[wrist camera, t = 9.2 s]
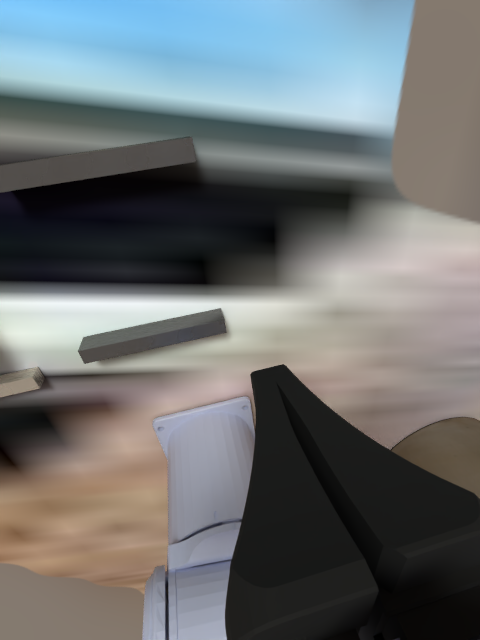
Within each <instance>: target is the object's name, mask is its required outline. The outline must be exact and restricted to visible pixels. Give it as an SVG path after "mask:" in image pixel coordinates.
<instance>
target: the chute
mask: <svg viewBox="0 0 480 640" xmlns="http://www.w3.org/2000/svg"><path fill="white" fill-rule="evenodd" d="M192 162H196V157H195V152H194V146H193V140H192V137H184V138H177V139H170V140H163V141H157V142H150V143H143V144H136V145H129V146H123V147H116V148H109V149H102V150H95V151H89V152H82V153H75V154H68V155H61V156H55V157H48V158H41V159H34V160H27V161H21V162H14V163H7V164H0V192H6V191H13V190H19V189H26V188H32V187H38V186H45V185H51V184H58V183H64V182H70V181H77V180H83V179H90V178H96V177H102V176H109V175H115V174H121V173H128V172H134V171H141V170H147V169H153V168H160V167H166V166H173V165H179V164H185V163H192ZM222 333H227V332H226V327H225V321H224V317H223V314H222V311H221V308H220V309H215V310H210V311H205V312H201V313H196V314H191V315H186V316H182V317H177V318H172V319H167V320H163V321H158V322H153V323H148V324H144V325H139V326H134V327H130V328H125V329H120V330H115V331H111V332H106V333H101V334H96V335H92V336H87V337H83V340H82V342H81V345H80V347H79V350H78V352H79V354H80V356H81V358H82V360H83V362H84V364H86V363H90V362H95V361H100V360H104V359H109V358H113V357H118V356H122V355H127V354H131V353H136V352H140V351H145V350H150V349H154V348H159V347H163V346H168V345H172V344H177V343H181V342H186V341H190V340H195V339H200V338H204V337H209V336H213V335H218V334H222ZM44 379H45V377H44V376H43V374H42V373H41V371H40V370H39V368H38V367H35V368H31V369H26V370H22V371H17V372H12V373H8V374H3V375H0V397H4V396H9V395H13V394H18V393H22V392H26V391H31V390H35V389H40V387H41V385H42V383H43V381H44Z"/></svg>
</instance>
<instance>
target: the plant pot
mask: <svg viewBox="0 0 480 640" xmlns="http://www.w3.org/2000/svg"><path fill="white" fill-rule="evenodd" d="M391 451H392V452H394V453H396V454H397V455H399V456H401V457H403V458H404V459H406V460H408V461H409V462H411V463H413V464H415V465H417V466H419V467H421V468H423V469H424V470H426V471H428V472H430V473H432V474H434V475H436V476H438V477H440V478H442V479H445V480H447V481H449V482H451V483H453V484H455V485H458V486H460V487H462V488H464V489H466V490H468V491H471V492H473V493H475V494H476V495H477V496H478V498H479V499H480V421H479V420H477V419H474V418H468V417H458V418H451V419H446V420H443V421H439V422H436V423H433V424H431V425H429V426H426V427H424V428H422V429H420V430H418V431H417V432H415V433H413V434H412V435H410V436H408V437H407V438H405V439H404V440H403V441H401V442H400V443H399V444H397V445H396V446H395V447H394V448H393V449H392V450H391Z"/></svg>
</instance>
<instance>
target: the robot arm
mask: <svg viewBox="0 0 480 640" xmlns="http://www.w3.org/2000/svg"><path fill="white" fill-rule="evenodd" d="M251 382H252V388H253V395H254V402H255V407H256V428H255V430H254V424H253V417H252V410H251V403H250V399H249V398H248V397H246V396H243V397H239V398H235V399H231V400H227V401H223V402H219V403H214V404H210V405H206V406H202V407H198V408H194V409H190V410H186V411H182V412H178V413H174V414H169V415H165V416H161V417H157V418H155V419H154V420H153V427H154V430H155V432H156V434H157V437H158V439H159V441H160V444H161V446H162V448H163V451H164V453H165V455H166V458H167V460H168V556H167V571H166V572H165V565H162V566H157V567H155V569H154V573H153V574H152V575H151V576H150V577H149V579H148V580H147V581H146V586H145V599H144V600H145V601H144V617H143V640H480V499H479V498H478V496H477V495H476V494H475V493H473V492H471V491H468V490H466V489H464V488H462V487H460V486H458V485H455V484H453V483H451V482H449V481H447V480H445V479H442V478H440V477H438V476H436V475H434V474H432V473H430V472H428V471H426V470H424V469H423V468H421V467H419V466H417V465H415V464H413V463H411V462H409V461H408V460H406V459H404V458H403V457H401V456H399V455H397V454H396V453H394V452H392V451H391V450H389V449H387V448H385V447H384V446H382V445H380V444H379V443H377V442H376V441H374V440H373V439H371V438H370V437H368V436H367V435H365V434H364V433H362V432H361V431H359V430H358V429H356V428H355V427H354V426H352V425H351V424H350V423H348V422H347V421H346V420H344V419H343V418H342V417H340V416H339V415H338V414H337V413H335V412H334V411H333V410H332V409H330V408H329V407H328V406H327V405H326V404H324V403H323V402H322V401H321V400H320V399H319V398H318V397H317V396H316V395H314V394H313V393H312V392H311V391H310V390H309V389H308V388H307V387H306V386H305V385H304V384H303V383H302V382H301V381H300V380H299V379H298V378H297V377H296V376H295V375H294V374H293V373H292V372H291V371H290V370H289V369H288V368H287V366H285V365H284V364H283V365H278V366H274V367H270V368H266V369H262V370H258V371H254V372H252V373H251ZM243 406H245V407H243Z"/></svg>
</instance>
